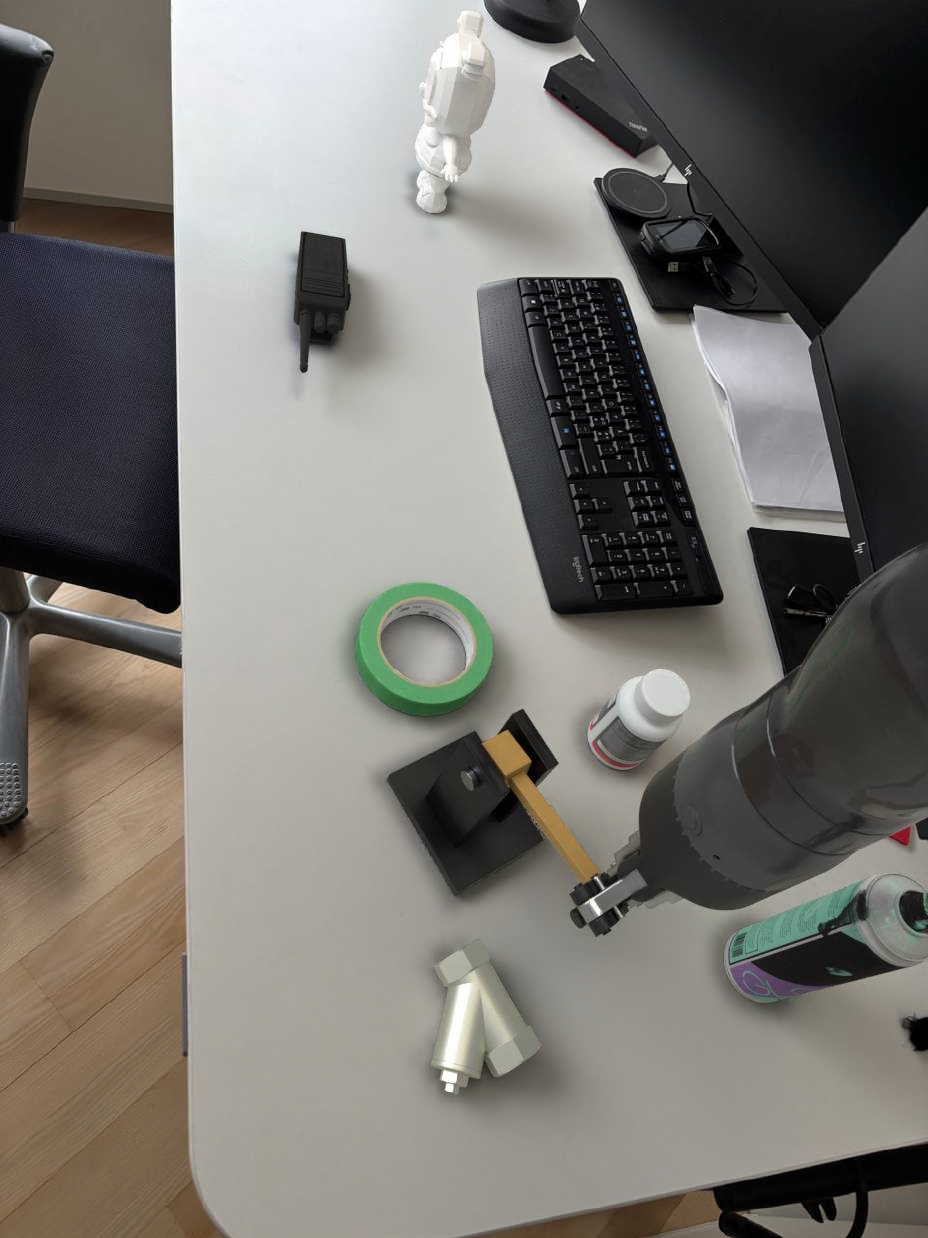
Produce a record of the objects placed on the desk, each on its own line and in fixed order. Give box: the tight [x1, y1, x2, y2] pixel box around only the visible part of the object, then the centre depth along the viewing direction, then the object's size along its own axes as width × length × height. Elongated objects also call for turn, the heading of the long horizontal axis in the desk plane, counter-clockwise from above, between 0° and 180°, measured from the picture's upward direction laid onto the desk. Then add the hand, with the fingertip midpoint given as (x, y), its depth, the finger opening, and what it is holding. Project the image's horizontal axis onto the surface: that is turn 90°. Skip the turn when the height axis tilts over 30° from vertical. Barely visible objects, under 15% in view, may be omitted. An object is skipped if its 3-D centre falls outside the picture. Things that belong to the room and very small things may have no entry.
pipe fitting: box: [430, 938, 542, 1095], centre depth 61 cm, size 8×4×7 cm
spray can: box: [723, 871, 928, 1004], centre depth 62 cm, size 6×6×20 cm
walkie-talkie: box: [293, 230, 352, 374], centre depth 89 cm, size 6×6×20 cm
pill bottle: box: [587, 668, 692, 771], centre depth 73 cm, size 5×5×10 cm
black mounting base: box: [386, 708, 559, 896], centre depth 65 cm, size 10×8×13 cm
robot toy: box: [414, 9, 496, 214], centre depth 98 cm, size 8×20×19 cm, turn 2°
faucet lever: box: [482, 730, 602, 929], centre depth 59 cm, size 13×5×2 cm, turn 33°
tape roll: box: [354, 582, 494, 717], centre depth 75 cm, size 11×11×3 cm
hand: (609, 894), depth 56 cm, fingers closed
